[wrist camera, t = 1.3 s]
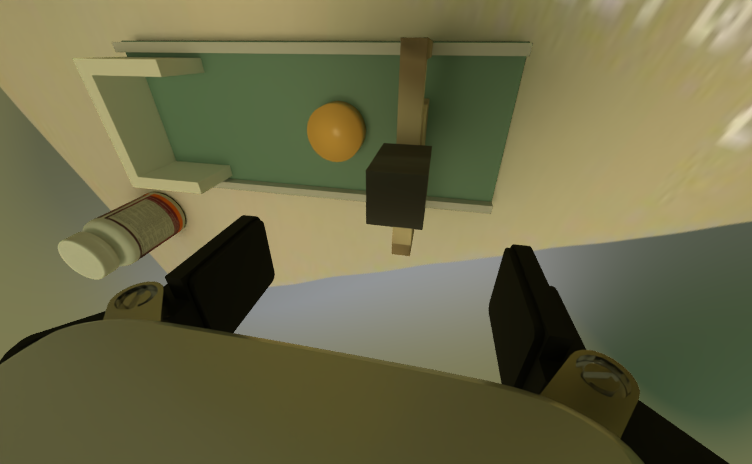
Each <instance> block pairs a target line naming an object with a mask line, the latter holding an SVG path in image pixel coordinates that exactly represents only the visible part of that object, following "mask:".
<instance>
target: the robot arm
mask: <svg viewBox="0 0 752 464" xmlns="http://www.w3.org/2000/svg"><path fill="white" fill-rule="evenodd" d="M274 275H275V273H274V268H273V263H272V259H271V254H270V250H269V245H268V240H267V236H266V231H265V226H264V223H263V221H260V219H259V217H256V216H246V215H243V216H241V217H240V218H239V219H237V220H236V221H235V222H233V223H232V224H231V225H230V226H228V227H227V228H226V229H225V230H223V231H222V232H221V233H220V234H218V235H217V236H216V237H214V238H213V239H212V240H211V241H209V242H208V243H207V244H206V245H204V246H203V247H202V248H200V249H199V250H198V251H197V252H195V253H194V254H193V255H192V256H190V257H189V258H188V259H187V260H185V261H184V262H183V263H181V264H180V265H179V266H178V267H176V268H175V269H174V270H173V271H171V272H170V273H169V274H167V275H166V276H165V279H166V281H167V283H168V284H167V285H165V286H164V287H163V285H161V284H160V283H158V282H143V283H139V284H136V285H133V286H130V287H128V288H126V289H124V290H122V291H120V292H119V293H117V294H116V295H115V296H114V297H113V298H112V299H111V300H110V302H109V303H108V306H107V309H106V311H104V312H101V313H98V314H95V315H92V316H89V317H86V318H83V319H80V320H77V321H73V322H70V323H67V324H64V325H61V326H58V327H55V328H52V329H49V330H45V331H43V332H40V333H36V334H33V335H30V336H28V337H26V338H24V339H23V340H21V341H20V342H19V343H17V344H16V345H15V346H14V347H12V348H11V349H10V350H9V351H8V352H7V353H6V354H5V355H4V356H3V358H2V359H1V360H0V464H729V463H728V462H726V461H725V460H723V459H722V458H720V457H719V456H718V455H716V454H715V453H713V452H712V451H711V450H709V449H708V448H706V447H705V446H703V445H702V444H701V443H699V442H698V441H696V440H695V439H693V438H692V437H691V436H689V435H688V434H686V433H685V432H684V431H682V430H680V429H679V428H678V427H676V426H675V425H674V424H672V423H671V422H669V421H668V420H666V419H665V418H664V417H662V416H661V415H659V414H658V413H656V412H655V411H654V410H652V409H651V408H649V407H648V406H646V405H645V404H644V403H642V402H641V401H639V394H640V390H639V387H638V384H637V382H636V381H635V379H634V378H633V376H632V375H631V373H630V372H628V371H627V370H626V369H625V368H624V367H623V366H622V365H621V364H619V363H618V362H616V361H615V360H614V359H612V358H610V357H608V356H606V355H604V354H602V353H599V352H596V351H592V350H586V348H585V346H584V345H583V342H582V340H581V338H580V336H579V334H578V332H577V330H576V328H575V326H574V324H573V322H572V320H571V318H570V316H569V314H568V312H567V310H566V308H565V306H564V304H563V301H562V299H561V297H560V296H559V293H558V291H557V290H556V288H555V287H553V286H549V284H548V282H547V280H546V278H545V276H544V273H543V271H542V269H541V267H540V265H539V263H538V261H537V258H536V256H535V254H534V252H533V250H532V248H531V247H530V246H523V245H514V244H513V245H512V246H511V248H506V249H505V251H504V254H503V257H502V261H501V264H500V269H499V271H498V275H497V278H496V282H495V285H494V289H493V292H492V296H491V299H490V303H489V316H490V322H491V327H492V333H493V338H494V343H495V350H496V355H497V360H498V366H499V372H500V377H501V383H502V384H499V383H495V382H491V381H486V380H482V379H477V378H471V377H467V376H462V375H456V374H452V373H447V372H442V371H437V370H432V369H427V368H421V367H416V366H410V365H405V364H400V363H394V362H389V361H384V360H378V359H373V358H368V357H362V356H357V355H352V354H346V353H341V352H335V351H330V350H324V349H319V348H313V347H308V346H302V345H297V344H291V343H285V342H280V341H274V340H268V339H263V338H257V337H252V336H246V335H240V334H234V331H235V330H236V329H237V327H238V326H239V325H240V323H241V322H242V321H243V320H244V318H245V317H246V316H247V314H248V313H249V312H250V310H251V309H252V308H253V306H254V305H255V304H256V302H257V301H258V300H259V298H260V297H261V296H262V295H263V293H264V292H265V291H266V289H267V288H268V287H269V285H270V284H271V283H272V281H273V279H274Z"/></svg>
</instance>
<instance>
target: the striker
mask: <svg viewBox="0 0 752 464" xmlns="http://www.w3.org/2000/svg"><path fill="white" fill-rule="evenodd" d="M432 49H433V41H432V40H431V39H429V38H401V46H400V70H399V93H398V117H397V141H396V144H392V143H383V145H382V146H381V148H380V149H379V151H378V152H377V154H376V156H375V157H374V159H373V160H372V162H371V163H370V165H369V166H368V168H367V169H366V224H372V225H381V226H390V227H393V235H392V254H397V255H405V256H410V251H411V246H412V240H413V234H414V229H418V230H422V229H423V221H424V213H425V205H426V197H427V189H428V180H429V170H430V161H431V152H432V146H425V140H426V130H427V119H428V109H429V99H427V98H424V93H425V81H426V70H427V59H429V58H431V57H432Z"/></svg>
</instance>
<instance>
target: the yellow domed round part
mask: <svg viewBox="0 0 752 464" xmlns="http://www.w3.org/2000/svg"><path fill="white" fill-rule="evenodd" d="M307 135H308V139H309V142H310V144H311V146H312V148H313V149H314V150H315V152H316V153H317V154H318V155H320V156H321V157H322V158H324V159H326V160H329V161H332V162H343V161H346V160H348V159H350V158H351V157H353V156H354V155H355V153H356V152H357V151H358V150H359V148H360V147H361V146H362V144H363V142H364V140H365V135H366V126H365V122H364V119H363V117H362V115H361V114H360V112H359V111H358V110H357V109H356V108H355V107H354V106H352V105H351V104H349V103H346V102H343V101H332V102H329V103H327V104H325V105H323V106H321V107H319V108H318V109H316V110H315V111H314V112H313V113H312V115H311V116H310V118H309V121H308V124H307Z"/></svg>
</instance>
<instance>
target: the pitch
mask: <svg viewBox="0 0 752 464" xmlns="http://www.w3.org/2000/svg"><path fill="white" fill-rule="evenodd" d="M112 44H113V47H114V49H115V52H126V55H127V57H104V58H72V59H73V61H74V63H75V65H76V67H77V70H78V72H79V74H80V76H81V78H82V80H83V82H84V84H85V86H86V89H87V91H88V93H89V95H90V97H91V99H92V101H93V103H94V105H95V108H96V110H97V112H98V114H99V116H100V118H101V120H102V122H103V125H104V127H105V129H106V131H107V133H108V135H109V137H110V139H111V141H112V144H113V146H114V148H115V150H116V152H117V154H118V156H119V158H120V160H121V163H122V165H123V167H124V169H125V171H126V173H127V175H128V177H129V180H130V182H131V184H132V186H133V187H136V188H146V189H156V190H166V191H176V192H186V193H196V194H203V193H204V192H206V191H208V190H209V189H211V188H224V189H234V190H245V191H255V192H266V193H276V194H287V195H297V196H308V197H318V198H329V199H339V200H350V201H360V202H366V169H367V168H368V166H369V165H370V163H371V162H372V160H373V159H374V157H375V156H376V154H377V152H378V151H379V149H380V148H381V146H382V145H383V143H392V144H396V141H397V117H398V93H399V70H400V46H401V41H121V42H112ZM532 45H533V43H530V42H452V41H433V49H432V57H431V58H429V59H427V70H426V81H425V93H424V98H427V99H429V109H428V119H427V130H426V140H425V146H432V152H431V161H430V170H429V180H428V189H427V197H426V205H425V208H434V209H445V210H455V211H466V212H476V213H487V214H491V212H492V208H493V205H492V198H493V194H494V189H495V185H496V181H497V177H498V173H499V169H500V164H501V160H502V156H503V152H504V148H505V144H506V139H507V135H508V131H509V127H510V123H511V119H512V114H513V110H514V106H515V102H516V98H517V94H518V89H519V85H520V81H521V77H522V73H523V69H524V64H525V60H526V56H530V53H531V49H532ZM332 101H343V102H346V103H349V104H351V105H352V106H354V107H355V108H356V109H357V110H358V111H359V112H360V114H361V115H362V117H363V119H364V122H365V126H366V135H365V140H364V142H363V144H362V146H361V147H360V148H359V150H358V151H357V152H356V153H355V155H354V156H353V157H351V158H350V159H348V160H346V161H343V162H332V161H329V160H326V159H324V158H322V157H321V156H320V155H318V154H317V153H316V152H315V150H314V149H313V148H312V146H311V144H310V142H309V139H308V135H307V124H308V121H309V118H310V116H311V115H312V113H313V112H314V111H315V110H316V109H318V108H319V107H321V106H323V105H325V104H327V103H329V102H332Z"/></svg>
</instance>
